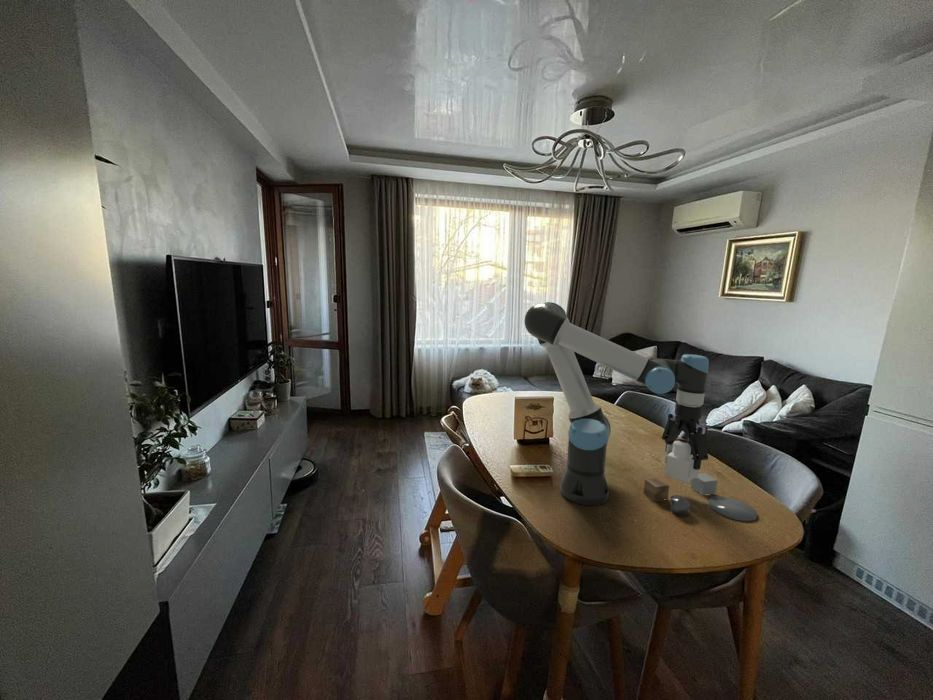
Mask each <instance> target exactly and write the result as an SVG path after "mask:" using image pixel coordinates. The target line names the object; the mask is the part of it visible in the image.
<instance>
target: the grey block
mask: <svg viewBox="0 0 933 700" xmlns="http://www.w3.org/2000/svg"><path fill="white" fill-rule="evenodd" d="M717 485H718V480H717V479H715V478H714V477H712V476H711V475H709V474H707V473H698V477H697V478H693V479H692V480H691V481H690V489H691V488H693V489H694V490H696V491H697V492H699V493H701V494H702V495H705V494H714V493H716V492H717ZM693 489H692V490H693ZM694 490H693V491H694ZM696 491H695V492H696ZM697 492H696V493H697ZM699 493H698V494H699ZM702 495H701V496H702ZM714 495H715V494H714Z"/></svg>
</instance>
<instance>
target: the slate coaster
mask: <svg viewBox="0 0 933 700" xmlns="http://www.w3.org/2000/svg"><path fill="white" fill-rule="evenodd" d="M708 505H710V506H709V507H710V508H712V509H711V510H713V511H714V512H715V511H716V512H715V513H717V514H718V513H719V515H720V514H721V515H720V516H722V517H725V518H727V519H731V520H734V521H739V522H752V521H755V520H756V519H757V516H758V515H757V514H758V513H757V511H756V509H754V508H753V507H752V506H751V505H749V504H747V503H745V502H743V501H741V500H738V499H736V498H731V497H728V496H727V497H726V496H713V497H710V498H709V500H708Z"/></svg>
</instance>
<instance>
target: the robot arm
mask: <svg viewBox="0 0 933 700" xmlns="http://www.w3.org/2000/svg"><path fill="white" fill-rule="evenodd" d="M524 327H525V329H526V331H527V332H528V333H529V335H531V336H533V337H534V338H536V339H537V341H538V343H539V346H540V347H543V348H545V349H546V353H547V354H548V357H549V360H550V363H551V366H552V368H553V370H554V372H555V375H556V377H557V379H558V382H559V386H560V387H561V389H562V390H561V391H562V393H563V395H564V397H565V401H566V403H567V405H568V407H569V413H568V415H567V417H568V421H569V422H570V425H569V427H568V428H569V430H568V442H567V443H568V446H567V461H566V469H565V472H564V474H563V477H562V479H561V481H560V484H559V485H560V487H559V490H560V493H561V495H562V497H564V498H565V499H567V500H569V501H570V502H573V503H575V504H579V505H583V506H589V507H590V506H599V505H603V504H605V503H607V502H608V500H609V496H610V495H609V493H610V491H609V490H610V489H609V486H608V482H607V478H606V475H605V474H606V473H605V471H606V459H607V458H606V456H607V450H608V449H607V447H608V442H609V439H610V436H611V428H612V427H611V423H610V420H609V419H608V417H607V416H606V415H605V414H604V413H603V410H602V408H601V405H600V404H598V403H595V402H594V400H593V397H592V394H591V392H590V389H589V387H588V384H587V382H586V379H585V376H584V374H583V371H582V368H581V366H580V364H579V362H578V359H577V357H576V354H575V353H577V354H578V355H580V356H583V357H584V358H586V359H587V358H588V359H589V360H591V361H593V362H595V363H598V364H600V365H601V366H604V367H607V368H608V369H610V370H612V371H615V372H617V373H618V374H621V375H622V376H623V375H624V376H625V377H627V378H629V379H631V380H633V381H635V382H637V383H638V384H642V385H643V386H646V388H647V389H649V391H651V392H653V393H655V394H658V395H659V394H660V395H663V394H667V393H669V392H671V391H672V390H673V388H674V386H675V385H677V391H676V397H675V401H676V402H675V406H674V413H668V414H667V422H666V425H665V428H664V430H663V434H662V436H661V439H662V440H664V442H665V448H664V449H665V458H664V463H665V464H666V460H667V455H668V454H669V453H671V452H672V448H673V441H674V440H676V439H679V436H680V435H681V434H682V432H684V434H685V436H686V437H687V438H688V441H689V442H690V446H691V450H692V454H693V458H691V460H690V467H689V474H688V478H690V479H691V478H697V477H698V474H699V470H700V469H701V465H702V461H708V460H709V453H708V452H709V451H708V439H707V435H708V434H707V433H708V429H709V428H708V427H707V426H702V425H701V424H700V420H701V418H702V417H703V410H704V409H703V407H704V406H703V405H704V401H705V394H706V389H707V388H706V387H707V382H708V375H709V365H710V364H709V363H710V361H709V358H708V357H706V356H703V355H699V354H693V353H692V354H691V353H690V354H687V353H685V354H683V355H682V356H681V357H680V359H669V358H668V359H667V358H658V357H651V356H650V357H647V356H643V355H641V354H639V353H637V352H635V351H632V350H630V349H629V348H626V347H624V346H622V345H620V344H617V343H615V342H613V341H610V340H608V339H606V338H604V337H601V336H599V335H597V334H595V333H593V332H590V331H588V330H586V329H585V328H582V327H580V326H577V325H575V324H573V323H571V322H570V320H569V318H568V315H567V313H566V311H565V309H564V308H563V307H562V306H561V305H559V304H558V303H555V302H550V301H547V302H542V303H536V304H534V305H533V306H531V307H529V309H528V310H527V311H526V313H525V315H524Z"/></svg>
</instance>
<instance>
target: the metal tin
mask: <svg viewBox="0 0 933 700" xmlns="http://www.w3.org/2000/svg"><path fill="white" fill-rule="evenodd" d="M690 502H691V501H690V499H689V498H688V497H684V496H682V495H678V494H677V495H676V494H675V495H671V496H670V502H669V503H670V504H669V511H670V513H671V512H672V513H671V514H672V515H675V516H677V517H682V518H685V517H688V516H689V513H690V505H691V503H690Z"/></svg>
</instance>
